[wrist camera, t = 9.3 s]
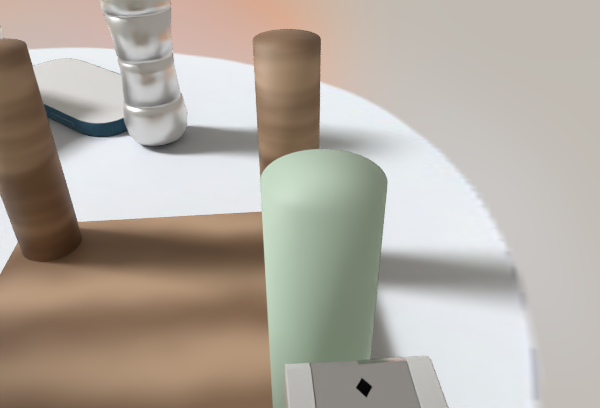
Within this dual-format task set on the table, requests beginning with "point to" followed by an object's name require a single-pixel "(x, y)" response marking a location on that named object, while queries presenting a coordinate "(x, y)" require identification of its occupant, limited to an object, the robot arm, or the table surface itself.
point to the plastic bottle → (147, 69)
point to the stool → (139, 265)
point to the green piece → (321, 257)
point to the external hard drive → (82, 96)
